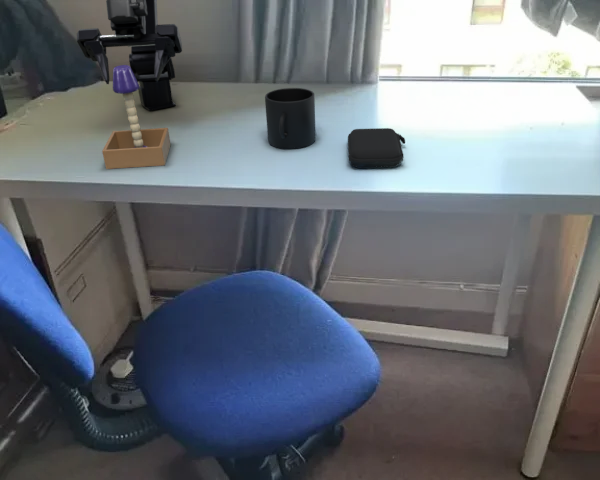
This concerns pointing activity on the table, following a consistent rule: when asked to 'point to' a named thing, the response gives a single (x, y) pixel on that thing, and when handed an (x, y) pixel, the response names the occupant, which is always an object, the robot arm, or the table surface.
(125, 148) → the box
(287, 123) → the mug
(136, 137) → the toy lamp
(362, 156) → the carrying case
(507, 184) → the table surface
